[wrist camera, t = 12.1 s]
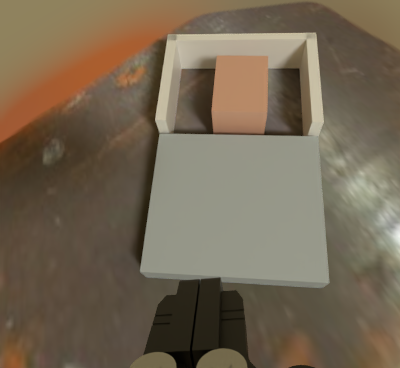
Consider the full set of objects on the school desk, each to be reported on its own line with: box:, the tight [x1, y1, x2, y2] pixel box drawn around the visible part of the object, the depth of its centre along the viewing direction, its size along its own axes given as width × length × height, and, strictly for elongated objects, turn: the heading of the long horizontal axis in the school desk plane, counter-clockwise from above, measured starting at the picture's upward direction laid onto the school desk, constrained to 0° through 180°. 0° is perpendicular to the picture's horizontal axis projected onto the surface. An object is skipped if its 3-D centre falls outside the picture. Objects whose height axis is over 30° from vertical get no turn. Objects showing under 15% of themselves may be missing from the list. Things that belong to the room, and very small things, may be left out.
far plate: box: [140, 134, 329, 288], centre depth 38 cm, size 18×16×3 cm
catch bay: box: [155, 33, 324, 136], centre depth 44 cm, size 18×13×5 cm
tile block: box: [212, 55, 268, 135], centre depth 43 cm, size 6×6×8 cm
